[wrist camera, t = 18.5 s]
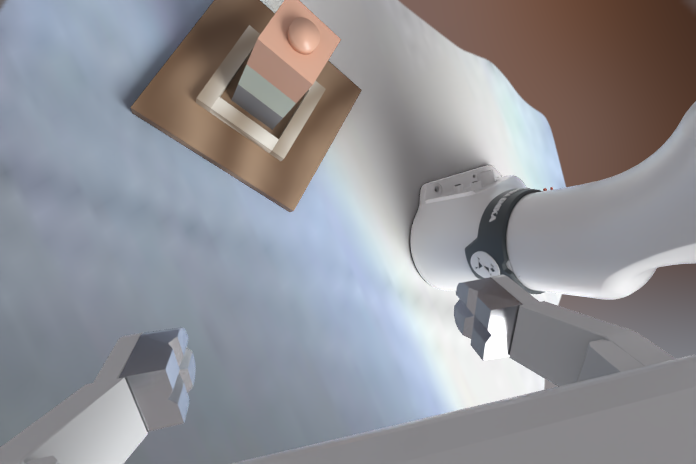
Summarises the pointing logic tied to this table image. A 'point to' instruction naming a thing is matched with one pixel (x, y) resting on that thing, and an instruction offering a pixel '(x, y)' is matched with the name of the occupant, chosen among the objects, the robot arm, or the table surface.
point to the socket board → (233, 121)
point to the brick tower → (284, 63)
